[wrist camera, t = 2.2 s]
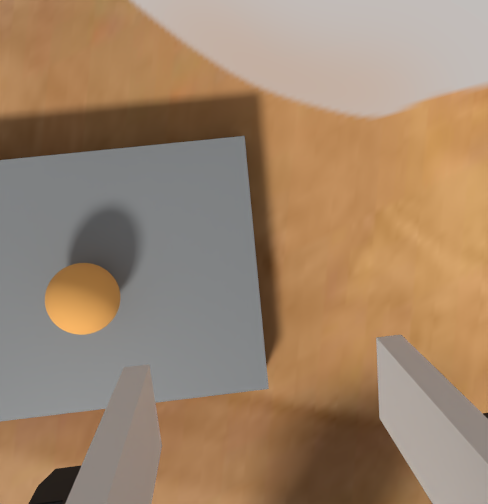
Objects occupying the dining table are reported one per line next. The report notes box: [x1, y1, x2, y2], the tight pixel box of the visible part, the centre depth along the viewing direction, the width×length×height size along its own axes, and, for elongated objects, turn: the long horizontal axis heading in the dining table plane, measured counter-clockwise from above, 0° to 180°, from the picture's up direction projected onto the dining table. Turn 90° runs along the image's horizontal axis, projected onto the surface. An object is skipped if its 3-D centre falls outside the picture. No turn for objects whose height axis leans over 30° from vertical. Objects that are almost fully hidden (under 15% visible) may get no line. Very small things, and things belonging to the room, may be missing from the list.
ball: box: [45, 263, 120, 335], centre depth 26 cm, size 4×4×4 cm
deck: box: [0, 136, 269, 421], centre depth 29 cm, size 28×16×2 cm, turn 96°
